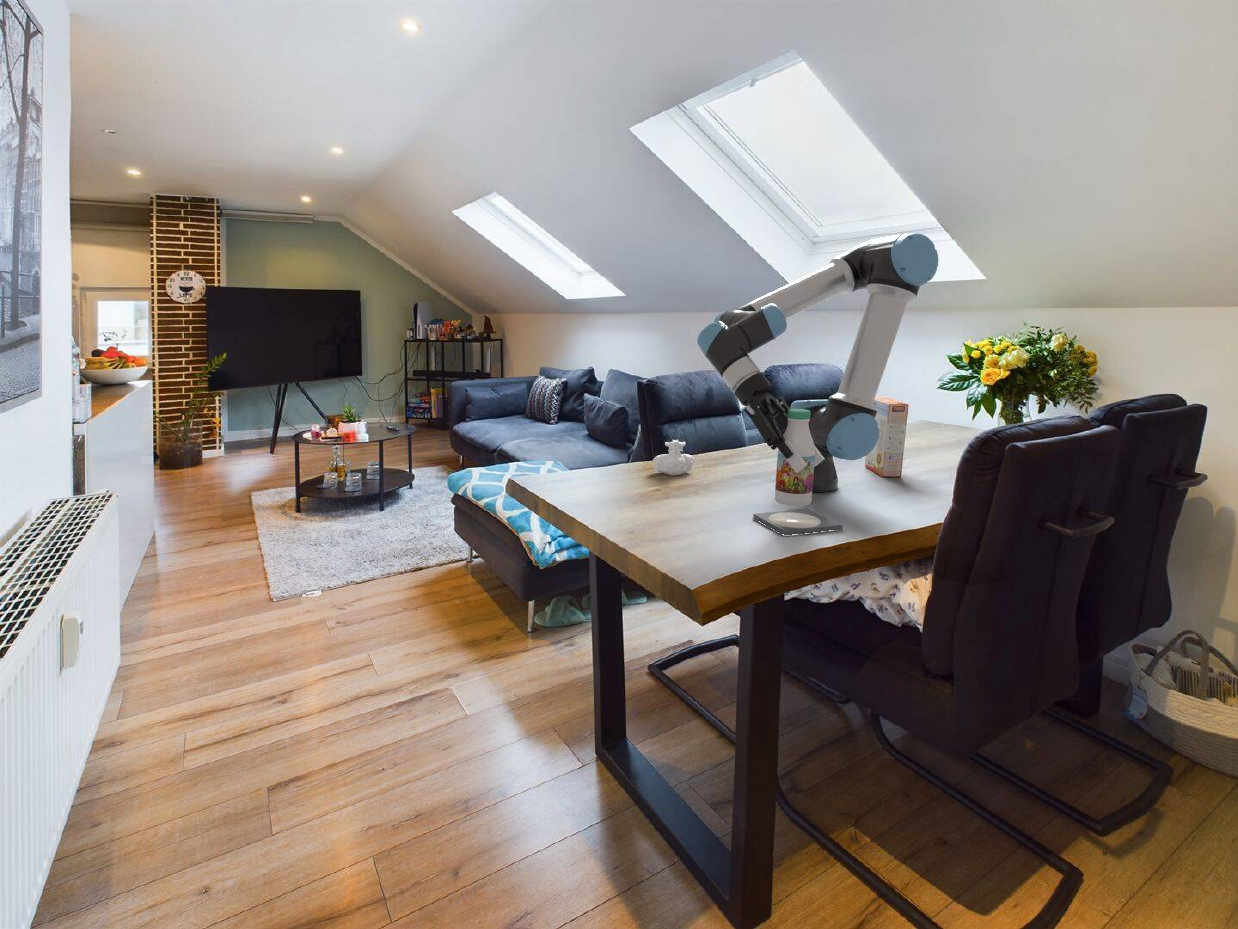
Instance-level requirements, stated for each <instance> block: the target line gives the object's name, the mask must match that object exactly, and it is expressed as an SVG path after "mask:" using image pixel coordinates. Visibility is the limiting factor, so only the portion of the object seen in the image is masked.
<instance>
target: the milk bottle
mask: <svg viewBox="0 0 1238 929" xmlns="http://www.w3.org/2000/svg"><path fill="white" fill-rule="evenodd" d="M787 420H788V426H787V429H786V430H785V432H784V433H783V436H784V438H785V441H786V440H789V441H790V443H791V444H792V445H793V447H794V448H795V449H796V451H797V452H798V453H799V455H800V456H801V457H802V459H803V460H804V461H805V463H806V464H807V466H805V467H804V468H803V469H802V470H801V471H799V472H798V473H796V472H795V471H794V469H793V468H792V467H791V465H790V464H789V463H788V461H787V460H786V459H785V457H784V456H783V455H782V453H781V452H780V451H779V449H778V448H777V449H778V450H777V460H776V473H775V486H774V500H775V502H776V503H778V504H780V505H784V506H790V507H804V506H805V507H806V506H809V505H811V503H812V501H813V500H812V498H813V492H812V489H813V476H814V461H815V447H814V442H813V439H812V437H811V434H810V431H809V425H808V423H809V421H810V411H809V410H805V409H790V410H788V419H787ZM785 441H784V442H785Z"/></svg>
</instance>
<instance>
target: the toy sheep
mask: <svg viewBox="0 0 1238 929" xmlns="http://www.w3.org/2000/svg"><path fill="white" fill-rule="evenodd" d="M664 445H665V446H666V447H668V451H667V452H668V453H667V454H666V453H665V454H663V453H662V454H659V455H656V456H655V457H653V459H652V464H653V468H654V470H655V472H657V473H661V474H666V475H668V476H674V475H676V476H680V475H682V474H685V473H688V472H690V471H691V470H692V468H693V465H694V463H695V461H696V459H695V457H693V455H690V454H687V453H681V452H683V448H684V446H686V441H682V442H681V441H679V439H675V440H674V439H672V440H671V441H669V442H668V441H666V442H664Z"/></svg>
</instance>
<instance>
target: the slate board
mask: <svg viewBox="0 0 1238 929" xmlns="http://www.w3.org/2000/svg"><path fill="white" fill-rule="evenodd" d="M752 519H753V520H754V519H755V521H756V522H758V521H760V522H761V523H763V524H765V525H766V526H765V525H764V526H765V527H767V526H768V527H769V529H770V528H772V529H774V530H775V531H774V530H773V531H774V532H776V531H777V532H779V533H780V534H779V533H778V534H779V535H781V534H784V535H792V534H805V533H813V532H821V531H829V530H839V531H843V525H844V524H842V523H840V522H838V521H835V520H834V519H832V518H829V517H827V516H824V515H822V514H820V513H819V512H816V511H814V510H812V509H810V508H809V507H807V508H798V509H797V508H796V509H787V510H778V511H776V510H775V511H768V512H759V513H753V517H752ZM760 522H759V523H760ZM761 523H760V524H761ZM763 524H762V525H763ZM768 527H767V528H768ZM772 529H771V530H772ZM777 532H776V533H777ZM813 534H814V533H813ZM805 535H806V534H805Z"/></svg>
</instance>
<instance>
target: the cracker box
mask: <svg viewBox="0 0 1238 929" xmlns="http://www.w3.org/2000/svg"><path fill="white" fill-rule="evenodd" d="M874 404H875V406H876V408H877V414H876V417H875V420H876V421H877V423H878V428H879V429H880V434H879V439H878V442H877V444H876V446H875V447H874V449H873V450H872V451H871V452H870V453H869V454H868V455H866V456H865V460H864V463H865V464H864V466H865V467H866V468H867V469H869V470H871V471H872V472H874V473H875V474H876V475H878V476H880V477H883V478H901V477H902V472H903V471H902V470H903V462H904V461H903V460H904V454H905V445H906V444H905V442H906V436H907V435H906V434H907V426H908V415H909V408H910V405H909V403H905V402H903V401H899V400H896V399H892V398H889V397H875V399H874Z"/></svg>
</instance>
